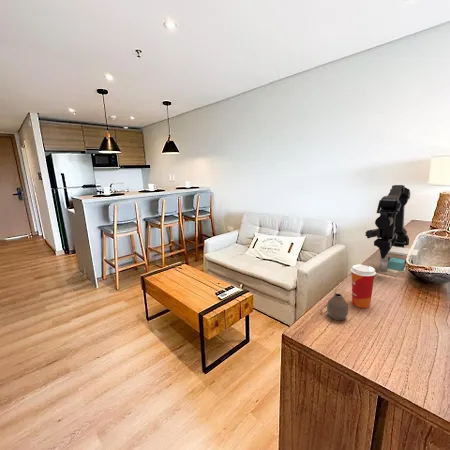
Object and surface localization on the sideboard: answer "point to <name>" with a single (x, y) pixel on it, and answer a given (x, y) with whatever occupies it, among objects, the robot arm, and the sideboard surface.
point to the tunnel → (405, 252)
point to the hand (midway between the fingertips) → (384, 256)
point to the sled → (385, 267)
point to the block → (396, 264)
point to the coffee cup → (362, 285)
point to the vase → (337, 307)
